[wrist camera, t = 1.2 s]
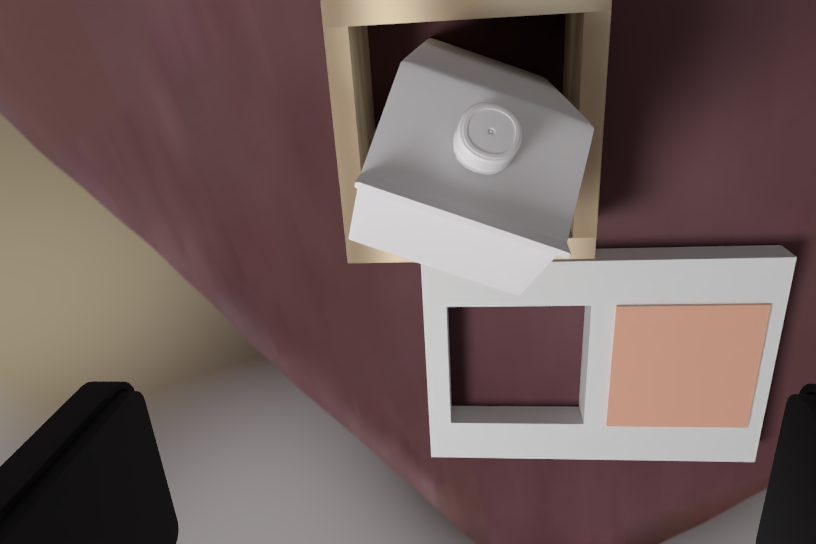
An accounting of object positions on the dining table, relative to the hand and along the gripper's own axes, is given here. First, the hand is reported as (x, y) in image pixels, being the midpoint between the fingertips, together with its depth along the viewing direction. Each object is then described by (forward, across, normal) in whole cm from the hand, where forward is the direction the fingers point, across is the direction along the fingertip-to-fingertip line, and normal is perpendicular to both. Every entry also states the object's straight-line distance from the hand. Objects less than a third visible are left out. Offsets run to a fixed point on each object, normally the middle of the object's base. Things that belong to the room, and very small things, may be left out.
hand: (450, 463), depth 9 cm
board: (+30, -8, +16) cm, 35 cm away
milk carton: (+30, 0, 0) cm, 30 cm away
